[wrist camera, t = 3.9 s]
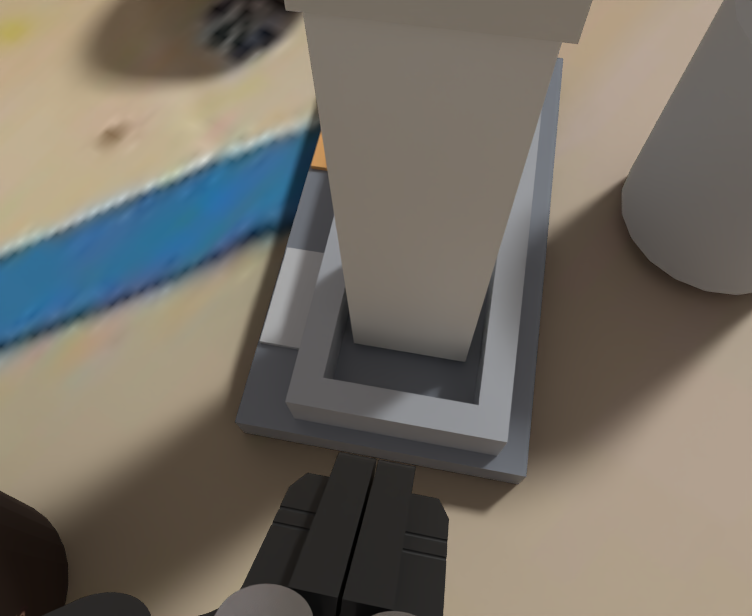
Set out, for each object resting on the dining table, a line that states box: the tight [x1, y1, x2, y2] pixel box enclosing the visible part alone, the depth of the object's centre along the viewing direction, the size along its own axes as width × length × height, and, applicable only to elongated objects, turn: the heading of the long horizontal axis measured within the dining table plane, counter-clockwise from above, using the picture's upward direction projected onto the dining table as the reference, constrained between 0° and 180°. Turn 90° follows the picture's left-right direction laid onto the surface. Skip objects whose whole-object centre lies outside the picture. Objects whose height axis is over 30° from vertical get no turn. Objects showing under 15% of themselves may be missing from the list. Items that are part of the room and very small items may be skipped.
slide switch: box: [235, 58, 563, 484], centre depth 25 cm, size 19×10×4 cm, turn 169°
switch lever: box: [284, 0, 592, 362], centre depth 16 cm, size 3×4×15 cm
